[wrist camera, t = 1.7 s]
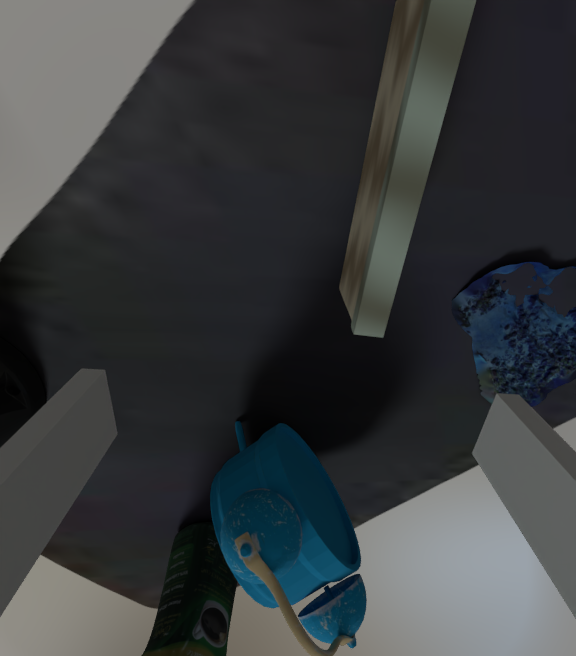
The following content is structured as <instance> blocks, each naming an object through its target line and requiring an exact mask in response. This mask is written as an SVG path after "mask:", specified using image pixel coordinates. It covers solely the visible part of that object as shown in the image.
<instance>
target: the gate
mask: <svg viewBox="0 0 576 656" xmlns="http://www.w3.org/2000/svg"><path fill="white" fill-rule="evenodd" d="M475 3H476V0H397V1H396V3H395V8H394V13H393V18H392V23H391V28H390V33H389V38H388V43H387V49H386V54H385V59H384V64H383V69H382V74H381V79H380V84H379V89H378V94H377V99H376V104H375V109H374V114H373V119H372V124H371V129H370V134H369V139H368V144H367V149H366V154H365V159H364V165H363V170H362V175H361V180H360V185H359V190H358V195H357V200H356V205H355V210H354V215H353V220H352V225H351V230H350V235H349V240H348V245H347V250H346V255H345V260H344V265H343V270H342V276H341V281H340V286H339V290H340V292H341V295H342V297H343V300H344V302H345V305H346V307H347V310H348V312H349V315H350V317H351V320H352V323H351V328H352V331H353V334H355V335H364V336H373V337H381V338H383V336H384V333H385V329H386V326H387V322H388V318H389V315H390V311H391V307H392V304H393V300H394V297H395V293H396V289H397V286H398V282H399V278H400V275H401V271H402V268H403V264H404V260H405V257H406V253H407V250H408V246H409V242H410V239H411V235H412V231H413V228H414V224H415V221H416V217H417V213H418V210H419V206H420V202H421V199H422V195H423V192H424V188H425V184H426V181H427V177H428V173H429V170H430V166H431V163H432V159H433V155H434V152H435V148H436V144H437V141H438V137H439V134H440V130H441V126H442V123H443V119H444V115H445V112H446V108H447V105H448V101H449V97H450V94H451V90H452V86H453V83H454V79H455V76H456V72H457V68H458V65H459V61H460V57H461V54H462V50H463V47H464V43H465V39H466V36H467V32H468V28H469V25H470V21H471V18H472V14H473V10H474V7H475Z"/></svg>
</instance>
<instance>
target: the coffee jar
mask: <svg viewBox="0 0 576 656" xmlns="http://www.w3.org/2000/svg"><path fill="white" fill-rule="evenodd" d="M236 586H237V580H236V578H235V576H234V574H233V573H232V571H231V569H230V568H229V566H228V564H227V562H226V560H225V558H224V555H223V553H222V551H221V548H220V545H219V542H218V539H217V536H216V533H215V529H214V525H213V523H211V522H201V523H194V524H191V525H189V526H187V527H185V528H184V529H182V530H181V531H180V532H179V533H178V534H177V535H176V536H175V539H174V542H173V546H172V550H171V554H170V558H169V563H168V567H167V572H166V577H165V582H164V586H163V590H162V595H161V599H160V603H159V607H158V612H157V616H156V619H155V623H154V627H153V630H152V633H151V636H150V639H149V642H148V644H147V647H146V649H145V651H144V653H143V655H142V656H226V652H227V641H228V633H229V627H230V621H231V615H232V608H233V603H234V597H235V591H236Z"/></svg>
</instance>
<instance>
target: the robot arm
mask: <svg viewBox="0 0 576 656" xmlns="http://www.w3.org/2000/svg"><path fill="white" fill-rule="evenodd" d="M117 434H118V433H117V428H116V423H115V418H114V413H113V408H112V403H111V398H110V393H109V388H108V383H107V378H106V373H105V370H97V369H81V370H80V371H79V372H77V373H76V374H75V375H74V376H73V377H72V378H71V379H70V380H69V381H68V382H67V383H66V384H65V385H64V386H63V387H62V388H61V389H60V390H59V391H58V392H57V393H56V394H55V395H54V396H53V397H52V398H51V399H50V400H49V401H48V402H47V403H46V404H45V391H44V387H43V384H42V382H41V379H40V377H39V375H38V374H37V372H36V370H35V369H34V367H33V366H32V365H31V363H30V362H29V361H28V360H27V359H26V358H25V357H24V356H23V355H22V354H21V353H20V352H19V351H18V350H17V349H16V348H15V347H13V346H12V345H11V344H9V343H8V342H6V341H5V340H3V339H2V338H0V616H1V615H2V613H3V611H4V610H5V609H6V607H7V605H8V604H9V602H10V601H11V599H12V598H13V596H14V595H15V593H16V591H17V590H18V588H19V586H20V585H21V584H22V582H23V581H24V579H25V577H26V576H27V574H28V573H29V571H30V570H31V568H32V567H33V565H34V563H35V562H36V560H37V559H38V557H39V556H40V554H41V552H42V551H43V549H44V548H45V546H46V545H47V543H48V542H49V540H50V538H51V537H52V535H53V534H54V532H55V531H56V529H57V528H58V526H59V524H60V523H61V521H62V520H63V518H64V517H65V515H66V514H67V512H68V510H69V509H70V507H71V506H72V504H73V503H74V501H75V499H76V498H77V496H78V495H79V493H80V492H81V490H82V489H83V487H84V485H85V484H86V482H87V481H88V479H89V478H90V476H91V475H92V473H93V471H94V470H95V468H96V467H97V465H98V464H99V462H100V460H101V459H102V457H103V456H104V454H105V453H106V451H107V450H108V448H109V446H110V445H111V443H112V442H113V440H114V439H115V437H116V436H117ZM472 454H473V456H474V457H475V459H476V461H477V462H478V464H479V465H480V467H481V468H482V470H483V472H484V473H485V475H486V476H487V478H488V480H489V481H490V483H491V484H492V486H493V488H494V489H495V491H496V492H497V494H498V495H499V497H500V499H501V500H502V502H503V504H504V505H505V507H506V508H507V510H508V511H509V513H510V515H511V516H512V518H513V519H514V521H515V523H516V524H517V526H518V527H519V529H520V531H521V532H522V534H523V535H524V537H525V539H526V540H527V542H528V543H529V545H530V547H531V548H532V550H533V551H534V553H535V555H536V556H537V558H538V559H539V561H540V563H541V564H542V566H543V567H544V569H545V570H546V572H547V574H548V575H549V577H550V578H551V580H552V582H553V583H554V585H555V586H556V588H557V589H558V591H559V593H560V594H561V596H562V597H563V599H564V601H565V602H566V604H567V606H568V607H569V609H570V610H571V612H572V614H573V615H574V617H575V618H576V452H575V451H574V450H573V449H572V448H571V447H570V446H569V445H568V444H567V443H566V442H565V441H564V440H563V439H562V438H561V437H560V436H559V435H558V434H557V433H556V432H555V431H554V430H553V429H552V428H551V427H550V426H549V425H548V424H547V423H546V422H545V421H544V420H543V419H542V418H541V417H540V416H539V414H538V413H537V412H536V411H535V410H534V409H533V408H532V407H531V406H530V405H529V404H528V403H527V402H526V401H525V400H524V399H523V398H522V397H521V396H520V395H516V394H499V393H497V394H496V396H495V399H494V401H493V403H492V406H491V408H490V411H489V413H488V416H487V418H486V421H485V423H484V425H483V428H482V430H481V433H480V435H479V438H478V440H477V443H476V445H475V448H474V450H473V452H472Z"/></svg>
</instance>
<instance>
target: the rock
mask: <svg viewBox="0 0 576 656" xmlns="http://www.w3.org/2000/svg"><path fill="white" fill-rule="evenodd" d="M525 263H528V262H525ZM529 263H531V264H532V265H534V269H535V270H536V272H537V275H538V276H540V277H541V278H542V279H543V282H544V283H545V284H546V285H549V284H550V283H551V281H552V280H553V279H554V277H555V276H557V275H559V274H560V273H561V272H562V271H563V270H564V269H565V268H566V267H565V268H562V269H558V270H553V269H549V267H547V266H545V265H543V264H542V263H538V262H529ZM523 264H524V263H520V264H514V265H507V266H504V267H500V268H498V269H496V270H494V271H491V272H489V273H488V274H486V275H484V276H483V277H482V278H480V279H478V280H476V281H474V282H473V283H472V284H470V285H469V286H468V288H466V289H465V290H463V291H462V292H460V293H459V294H458V295H457V297H456V298H454V299H452V313H453V316H454V318H455V320H456V321H457V322H458V324H459V325H460V326H461V327H462V328H463V330H464V331H466V332H467V333H468V334H469V335H470V336H472V340H473V342H472V348H473V355H474V359H475V363H476V369H477V371H476V373H477V374H478V376H477V377H478V379H479V380H480V381H479V383H480V385H481V386H480V389H481V390H482V392H481V393H480V394H481V395H482V396H483V397H484V398H485V399H487V400H488V401H489V402H490V403H491V404H492V403H493V401H494V399H495V396H496V394H497V393H499V394H516V395H520V396H521V397H522V398H523V399H524V400H525V401H526V402H527V403H528V404H529V405H530V406H531V407H532V406H535V405H538V404H539V403H540V402H541V401H543V400H544V399H545V398H546V397H547V394H548V393H549V392H551V391H552V389H555V388H557V387H558V386H561V385H563V384H565V383H569V382H571V381H572V380H574V379H576V307H574V308H573V310H572V309H571V310H570V311H569V312H568V314H567V315H566V318H564V317H563V315H562V314H561V315H559V314H557V312H556V310H555V306H554V308H551V307H548V306H547V304H546V303H544V302H541V301H540V300H539V297H538V295H525V298H524V304H521V305H520V306H518V307H516V304H515V300H516V295H511V296H510V295H509V294H507V293H508V290H509V289H508V290H506V292H503V291H502V290H501V286H499V285H500V284H499V282H498V281H497V280H496V281H495V280H494V279H493V278H492V276H493V274H496V273H500V274H508V273H511V272H513V271H515V270H516V269H517V268H519V267H520V266H522V265H523ZM567 267H573V266H567ZM573 268H576V267H573ZM537 275H535V276H534V277H532V278H533V280H534V281H536V280H537ZM505 282H506V281H503V282H502V283H505ZM529 287H531V286H528V287H527V288H529ZM552 292H553V291H552V289H551V288H550V287H549V286H546V287H545V288H540V290H539V293H538V294H546V295H550V294H551V293H552ZM545 311H546V312H545Z"/></svg>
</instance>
